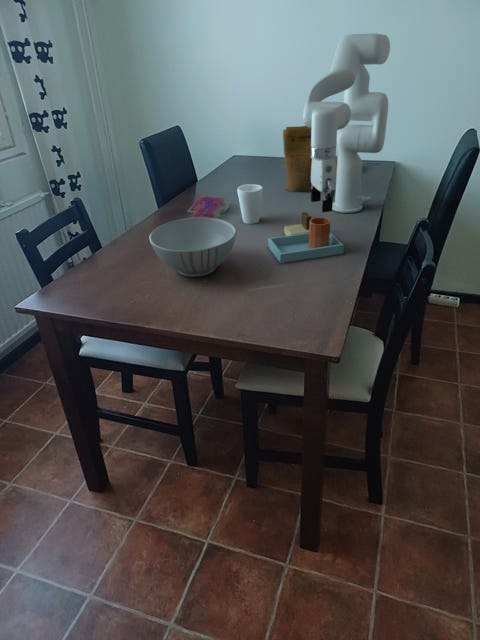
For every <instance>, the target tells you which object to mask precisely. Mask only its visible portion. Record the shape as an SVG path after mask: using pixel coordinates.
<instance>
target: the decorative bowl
mask: <svg viewBox="0 0 480 640" xmlns="http://www.w3.org/2000/svg"><path fill="white" fill-rule="evenodd" d="M237 233H238V232H237V228H236V226H235V225H234V224H233V223H231V222H230V221H227V220H224V219H221V218H218V219H216V218H213V217H212V218H211V217H209V218H206V217H201V216H200V217H197V218H191V217H187V218H180V219H176V220H172V221H168V222H166V223H164V224H161V225H159V226H158V227H156V228H155V229H153V230H152V231H151V232H150V234H149V239H148V240H149V243H150V245H151V247H152V249H153V251H154V252H155V254H156V255H157V257H158V258H159V259H160V260H161V261H162V262H163V263H164V264H165V265H166V266H168V268H171V269H172V270H175V271H177V272H178V273H179V274H180V275H182V276H185V277H189V278H191V277H192V278H197V277H203V276H207V275H209V274H211V273H213V272H214V271H215V270H216V268H217V267H218V266H220V265H221V264H222V263H223V262H224V261H225V260H226V259H227V258H228V256H229V255H230V253H231V251H232V249H233V248H234V244H235V241H236V238H237Z"/></svg>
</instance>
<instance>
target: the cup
mask: <svg viewBox="0 0 480 640" xmlns="http://www.w3.org/2000/svg"><path fill="white" fill-rule="evenodd" d="M331 223H332V221H331V219H330V218H328V217H322V216H321V217H320V216H317V217H313V218H311V219H310V221H309V249H313V248H320V247H326V246H329V242H330V233H331V225H332V224H331Z"/></svg>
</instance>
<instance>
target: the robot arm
mask: <svg viewBox="0 0 480 640" xmlns="http://www.w3.org/2000/svg"><path fill="white" fill-rule="evenodd" d="M390 51H391V41H390V37H388V35H386V34H382V33H353V34H346V35H343V37H341V38H340V39H339V41H338V42H337V45H336V49H335V52H334V55H333V59H332V63H331V66H330V69H329V72H328V73H327V74H325V75H324V76H323V77H321V78H320V79H319V80H318V81H316V83H315V84H314V85H313V86H312V87H311V88H310V90H309V92H308V94H307V97H306V100H305V103H304V108H303V112H302V122H303V124H304V126H307V127H309V128H311V158H312V165H311V184H312V185H311V189H313V190H311V192H310V202H311V203H315V202H320V201H321V200H322V201H321V212H322V213H329V212H332V211H333V212H337V213H342V214H352V213H353V214H354V213H357V212H361V211H362V210H363V207H364V206H363V204H364V203H369V202H371V200H372V198H371V196H365V195H361V187H362V185H361V184H362V173H363V161H362V158H361V157H360V155H359V154H360V153H364V154H378V153H380V152H381V151H382V150H383V148H384V144H385V139H386V132H387V131H386V130H387V123H388V122H387V121H388V113H389V97H388V96H387V94H386V93H384V92H382V91H381V92H380V91H369V90H370V89H369V88H370V80H371V79H370V77H371V76H370V73H369V71H368V68H367V67H366V66H365V65H367V66H368V65H369V66H370V65H371V66H372V65H378V66H379V65H384V64H385V63H386V62H387V60H388V58H389V55H390V53H391V52H390ZM342 92H343V99H342V100H343V102H342V101H323V100H325V99H328V98H329V97H332V96H335V95H338V94H340V93H342ZM350 121H355V122H371V123H372V125H371V124H349V123H350ZM358 153H359V154H358ZM336 156H338V159H337V175H336V163H335V157H336ZM321 196H322V197H323V199H321V198H322V197H321ZM334 196H335V197H334Z"/></svg>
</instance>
